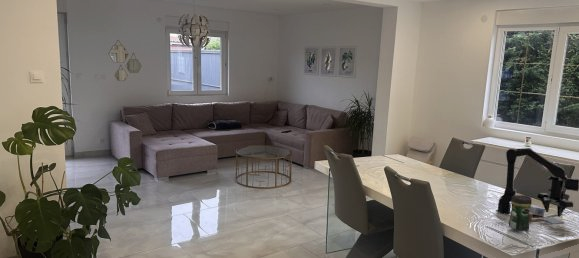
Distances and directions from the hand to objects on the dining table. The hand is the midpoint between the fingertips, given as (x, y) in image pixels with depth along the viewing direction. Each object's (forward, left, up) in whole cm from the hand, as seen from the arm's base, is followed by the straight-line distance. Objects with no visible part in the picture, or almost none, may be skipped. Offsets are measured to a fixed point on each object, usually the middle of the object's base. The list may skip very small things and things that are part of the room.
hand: (552, 214), depth 239 cm
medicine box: (-1, +7, -1) cm, 7 cm away
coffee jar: (-30, -6, -4) cm, 31 cm away
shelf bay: (-8, +6, -4) cm, 11 cm away
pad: (0, 0, -4) cm, 4 cm away
